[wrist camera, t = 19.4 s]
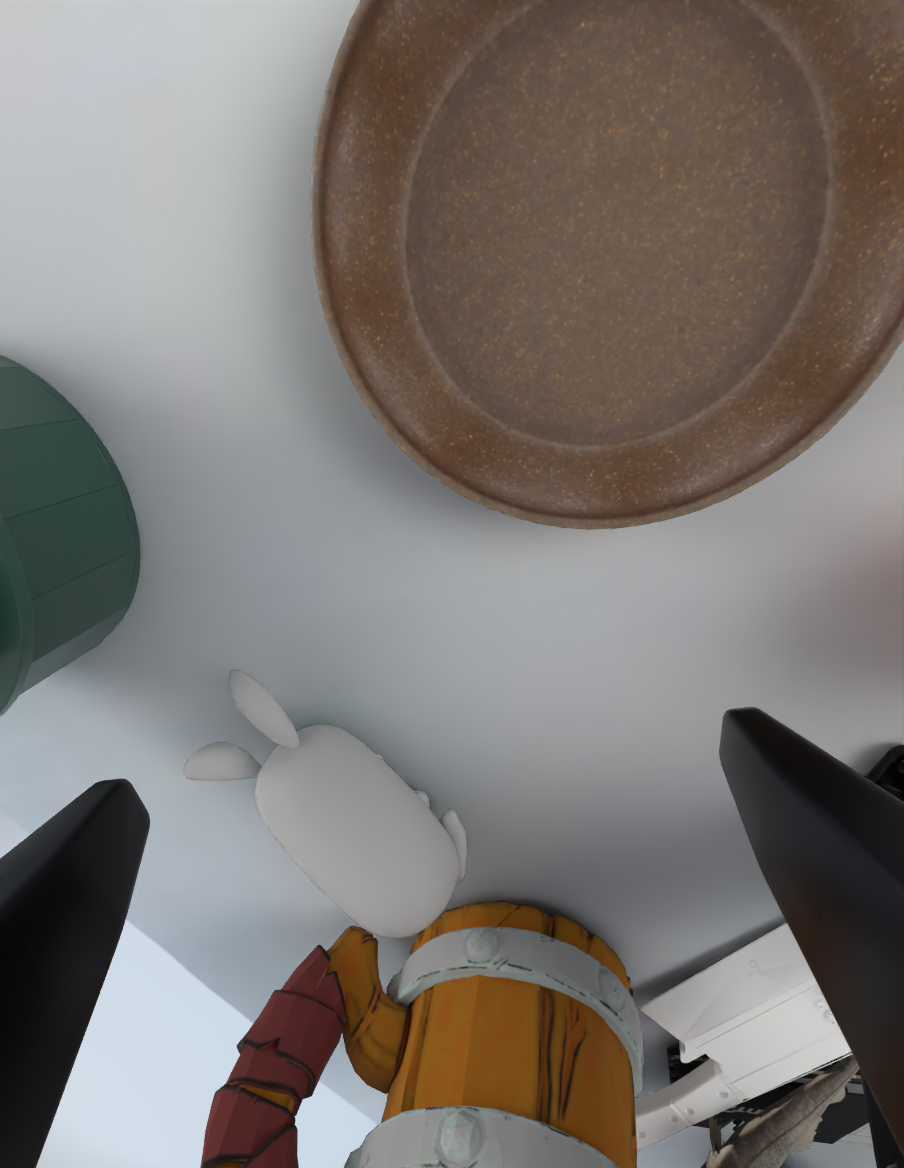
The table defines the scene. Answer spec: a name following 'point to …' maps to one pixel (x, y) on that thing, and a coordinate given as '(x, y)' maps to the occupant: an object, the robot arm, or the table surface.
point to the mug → (450, 1049)
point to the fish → (781, 1123)
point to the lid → (13, 621)
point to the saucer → (611, 240)
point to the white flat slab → (739, 1033)
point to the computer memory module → (837, 1119)
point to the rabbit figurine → (344, 817)
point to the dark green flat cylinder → (64, 520)
